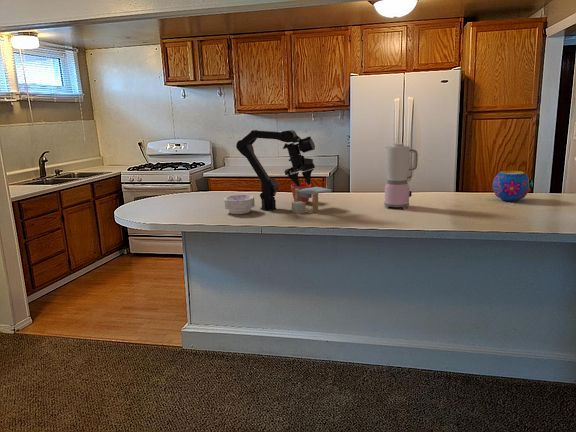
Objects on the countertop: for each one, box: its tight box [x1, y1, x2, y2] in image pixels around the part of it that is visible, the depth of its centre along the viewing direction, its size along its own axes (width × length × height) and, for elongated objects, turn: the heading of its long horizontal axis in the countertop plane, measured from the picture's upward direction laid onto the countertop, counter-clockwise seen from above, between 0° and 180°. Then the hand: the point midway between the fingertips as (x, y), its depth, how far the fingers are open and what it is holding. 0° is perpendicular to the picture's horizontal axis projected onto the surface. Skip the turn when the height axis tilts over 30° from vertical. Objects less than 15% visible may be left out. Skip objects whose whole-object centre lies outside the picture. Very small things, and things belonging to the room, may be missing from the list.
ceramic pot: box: [492, 170, 534, 202], centre depth 231 cm, size 18×18×15 cm
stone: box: [291, 201, 307, 215], centre depth 219 cm, size 5×5×5 cm
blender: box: [383, 142, 419, 210], centre depth 221 cm, size 16×12×32 cm
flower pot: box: [290, 183, 312, 204], centre depth 242 cm, size 11×11×10 cm
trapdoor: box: [298, 186, 333, 199], centre depth 224 cm, size 13×12×3 cm
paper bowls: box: [223, 194, 256, 215], centre depth 222 cm, size 15×15×8 cm
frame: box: [295, 188, 319, 214], centre depth 223 cm, size 2×17×10 cm, turn 34°
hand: (304, 185), depth 220 cm, fingers open, 9 cm apart
